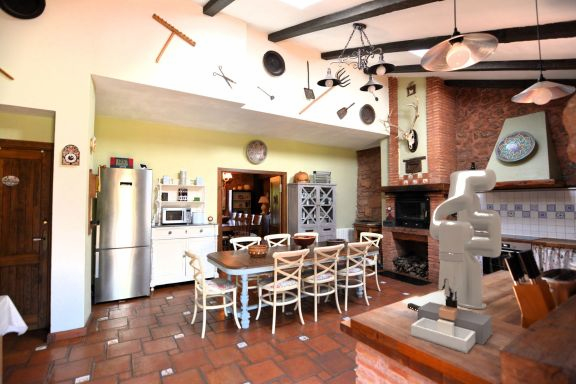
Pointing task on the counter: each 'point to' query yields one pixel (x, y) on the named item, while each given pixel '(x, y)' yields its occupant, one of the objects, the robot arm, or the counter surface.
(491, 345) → the counter surface
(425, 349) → the counter surface
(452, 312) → the terracotta tile
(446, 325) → the cream tile
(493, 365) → the counter surface
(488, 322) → the block
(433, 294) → the counter surface
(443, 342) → the box
